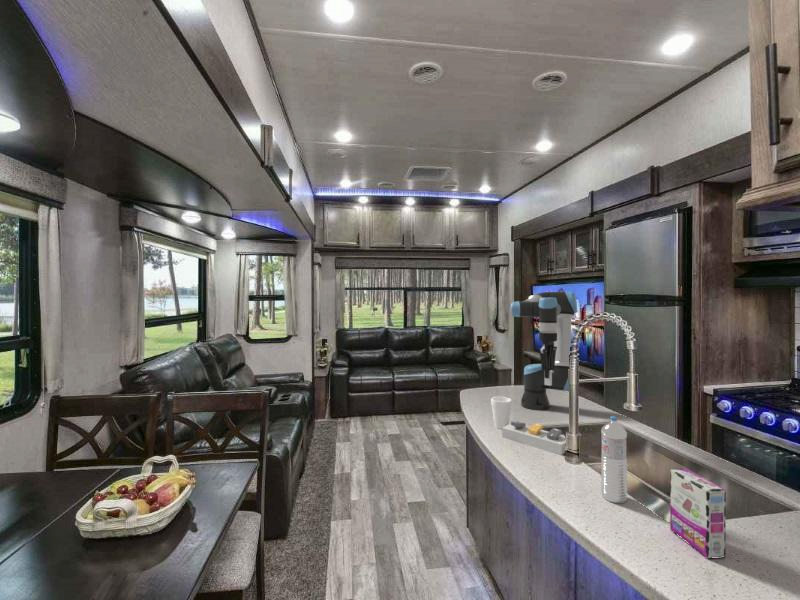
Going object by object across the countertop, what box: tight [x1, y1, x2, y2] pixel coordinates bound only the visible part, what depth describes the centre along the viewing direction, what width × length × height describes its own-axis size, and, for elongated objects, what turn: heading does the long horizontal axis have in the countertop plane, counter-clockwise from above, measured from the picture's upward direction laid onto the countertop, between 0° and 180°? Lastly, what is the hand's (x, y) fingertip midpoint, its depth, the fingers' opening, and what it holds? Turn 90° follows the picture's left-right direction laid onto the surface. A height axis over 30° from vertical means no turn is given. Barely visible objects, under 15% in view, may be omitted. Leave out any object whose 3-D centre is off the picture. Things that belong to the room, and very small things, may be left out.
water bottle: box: [600, 415, 628, 504], centre depth 113 cm, size 7×7×25 cm
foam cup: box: [490, 396, 512, 430], centre depth 175 cm, size 10×9×13 cm
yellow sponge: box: [528, 422, 544, 435], centre depth 156 cm, size 6×4×2 cm, turn 133°
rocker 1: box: [510, 421, 526, 427], centre depth 162 cm, size 6×4×2 cm, turn 134°
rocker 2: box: [547, 427, 563, 440], centre depth 150 cm, size 6×4×2 cm, turn 133°
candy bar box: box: [669, 468, 727, 559], centre depth 92 cm, size 11×5×16 cm, turn 5°
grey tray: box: [501, 423, 589, 458], centre depth 153 cm, size 10×34×5 cm, turn 43°
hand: (548, 384), depth 164 cm, fingers closed
